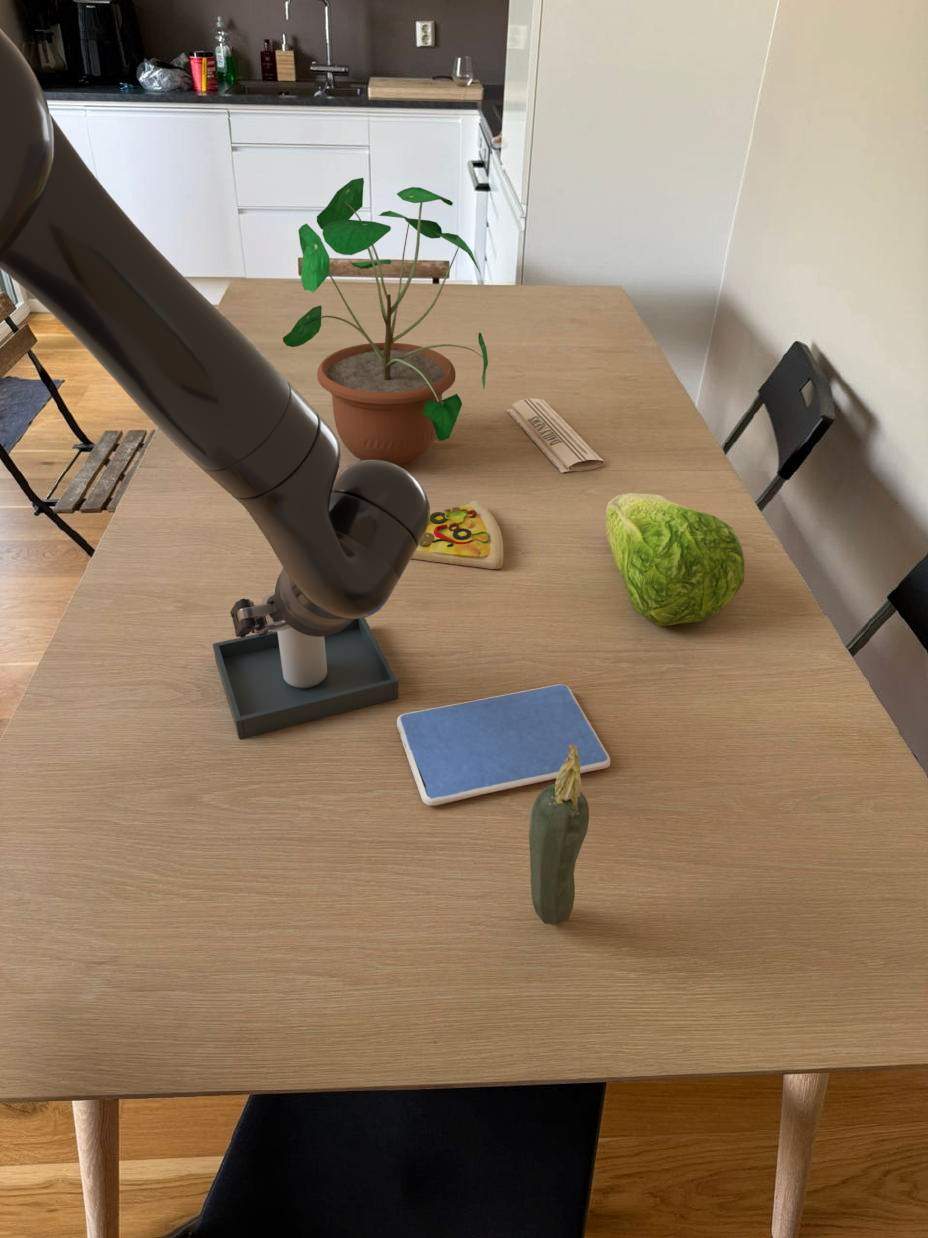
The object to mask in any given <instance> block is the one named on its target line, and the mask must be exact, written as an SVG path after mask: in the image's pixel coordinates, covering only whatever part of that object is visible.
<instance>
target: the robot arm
mask: <svg viewBox="0 0 928 1238" xmlns="http://www.w3.org/2000/svg"><path fill="white" fill-rule="evenodd" d="M0 270H1V271H2V272H3V273H5V274H6V275H7V276H9V277H10V278H11V279H12V280H13V281H14V282H16V283H18V285H19V286H21V287H22V289H24V290H25V291H26V292H27V293H28V294H30V295H31V296H32V297H33V298H34V299H35V300H37V302H38V303H40V304H41V305H42V306H43V307H44V308H45V309H46V310H47V311H49V313H51V315H53V317H54V318H56V319H57V320H58V321H59V323H61V324H62V325H63V326H64V327H65V328H66V329H67V330H68V331H69V332H70V333H71V334H72V335H73V336H74V337H75V338H76V339H77V340H78V342H79V343H80V344H82V346H84V347H85V349H86V350H87V351H88V352H89V353H90V354H91V356H93V357H94V358H95V360H96V361H97V362H98V363H99V364H100V366H102V367H103V369H104V370H106V372H108V374H109V375H110V377H112V378H113V379H114V381H115V382H116V383H117V384H118V385H119V386H120V388H121V389H122V390H123V391H124V392H125V393H126V394H127V395H128V397H129V398H130V399H131V400H132V401H133V402H134V403H135V404H136V406H138V407H139V408H140V410H141V411H143V412H142V413H144V414H145V415H146V416H147V418H149V419H150V420H151V422H153V423H154V425H155V426H156V427H157V428H158V429H160V431H161V432H162V433H163V434H164V435H165V436H166V437H167V438H168V439H169V440H170V441H171V442H172V443H173V444H174V445H175V446H176V447H177V448H178V449H179V451H181V452H182V453H183V454H184V455H185V456H186V457H188V459H190V461H192V462H193V463H194V464H195V465H196V466H198V467H199V468H200V470H202V471H203V472H204V473H206V474H207V476H209V477H210V478H211V479H213V480H214V481H215V482H216V483H217V484H218V485H219V486H220V487H221V488H222V489H224V491H226V492H227V493H228V494H230V495H231V496H232V497H233V498H234V499H235V500H236V501H237V502H238V503H239V504H241V505H242V507H244V509H245V510H246V512H248V514H249V515H250V516H251V517H250V518H252V519H253V521H254V523H255V524H256V526H257V527H258V529H259V530H260V531H261V533H262V535H263V536H264V537H265V539H266V540H267V542H268V544H269V546H270V547H271V549H272V550H273V552H274V554H275V555H276V558H277V559H278V561H279V562H280V565H281V566H282V569H281V571H280V573H279V575H278V577H277V580H276V582H275V584H276V587H275V593H273V592H272V593H270V594H267V595H265V596H263V598H262V601H261V603H259V604H256V605H255V602H254V600H250V598H240V599H239V600H237V601H236V602H235V603H234V605H233V607H232V608H231V610H230V611H229V613H230V617H231V620H232V624H233V627H234V634H235V637H236V638H241V637H245V636H249V635H250V634H254V635H255V634H258V635H259V636H263V635H266V634H267V632H268V631H271V632H276V631H283V630H286V629H289V628H293V629H295V630H296V631H298V632H300V633H302V634H305V635H309V636H314V637H323V636H329V635H333V634H335V633H337V632H339V631H341V630H343V629H344V628H345V627H347V626H348V625H349V624H350V623H351V622H352V621H354V620H355V619H360V618H365V619H366V618H368V617H371V616H373V615H375V614H376V613H378V612H380V611H381V609H382V608H383V607H384V605H385V604H386V603H387V602H388V600H389V598H390V597H391V595H392V593H393V592H394V590H395V589H396V588H397V587H396V586H397V584H398V583H399V581H400V579H401V577H402V575H403V574H404V572H405V570H406V569H407V566H408V565H409V563H410V562H411V560H412V559H411V558H412V556H413V554H414V553H415V551H416V549H417V547H418V546H419V544H420V542H421V540H422V538H423V537H424V535H425V533H426V530H427V528H428V525H429V521H430V513H431V506H430V502H429V498H428V496H427V493H426V491H425V489H424V487H423V486H422V485H421V483H420V482H419V481H418V479H417V478H416V477H415V476H413V474H411V473H410V472H409V471H408V470H407V469H405V468H404V467H400V466H398V465H396V464H393V463H390V462H387V461H382V460H363V461H361V460H359V461H356V462H354V463H353V462H352V463H351V464H349V465H347V466H346V467H344V468H343V469H342V470H341V471H339V469H340V463H341V454H342V453H341V446H340V442H339V439H338V437H337V436H336V433H335V432H334V431H333V429H332V428H331V426H329V424H328V423H327V422H326V420H325V419H324V418H323V417H322V416H321V415H320V414H319V413H318V412H317V411H316V410H315V409H314V408H313V406H312V405H311V404H310V403H309V402H308V401H307V400H306V399H305V398H304V397H303V395H302V394H301V393H300V392H299V391H298V390H297V389H296V388H295V387H294V386H293V385H292V384H291V383H290V381H289V380H288V379H287V378H286V377H285V376H284V375H283V374H282V373H281V372H280V371H279V369H278V368H277V367H276V366H274V364H273V363H272V362H271V361H270V360H269V359H268V358H267V357H266V356H265V355H264V354H263V353H262V352H261V351H260V350H259V349H258V348H257V347H256V346H255V345H254V344H253V343H252V342H251V341H250V340H249V339H248V338H247V337H246V336H245V335H244V334H243V333H242V332H241V331H240V330H239V329H238V328H237V327H236V326H235V325H234V324H233V323H232V322H231V321H230V320H229V319H228V318H226V316H224V315H223V314H222V313H221V312H220V311H219V309H217V308H216V307H215V306H214V305H213V303H211V302H210V301H209V300H208V298H206V297H205V296H204V295H203V294H202V293H201V292H200V291H199V290H198V289H197V287H195V286H194V285H193V284H192V283H191V282H190V281H189V280H188V279H187V278H186V277H185V276H184V275H183V274H182V273H181V272H180V271H179V270H178V269H177V268H176V267H175V266H174V265H173V264H172V263H171V262H170V261H169V260H168V258H166V257H165V256H164V255H163V254H162V253H161V252H160V250H159V249H158V248H157V247H156V246H155V245H154V244H153V243H152V242H151V241H150V240H149V238H148V237H147V236H146V235H145V234H144V233H143V232H142V231H141V230H140V228H139V227H138V226H137V225H136V224H135V223H134V221H132V220H131V218H130V217H129V216H128V214H126V212H125V211H124V210H123V208H121V207H120V205H119V204H118V203H117V201H116V200H114V198H113V197H112V196H111V194H109V192H108V191H107V189H106V188H105V187H104V186H103V185H102V184H101V182H100V181H99V180H98V178H97V177H96V176H95V174H94V173H93V172H92V171H91V170H90V168H89V167H88V165H87V164H86V163H85V162H84V159H82V157H81V155H80V154H79V153H78V152H77V150H76V149H75V148H74V146H73V145H72V143H71V142H70V140H69V139H68V137H67V136H66V134H65V133H64V132H63V130H62V128H61V127H60V125H59V124H58V123H57V121H56V120H55V118H54V117H53V115H52V114H51V112H50V109H49V104H48V100H47V98H46V95H45V93H44V90H43V88H42V86H41V84H40V82H39V80H38V78H37V76H36V73H35V72H34V70H33V69H32V67H31V66H30V64H29V62H28V61H27V59H26V58H25V56H24V55H23V54H22V52H21V51H20V49H19V47H18V46H17V45H16V44H15V43H14V42H13V41H12V39H11V38H10V37H9V36H8V35H7V34H6V33H5V32H4V30H3V28H1V27H0ZM338 472H339V473H338ZM283 620H284V621H285V622H283Z"/></svg>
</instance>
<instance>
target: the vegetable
mask: <svg viewBox="0 0 928 1238" xmlns="http://www.w3.org/2000/svg"><path fill="white" fill-rule="evenodd" d="M568 747H570V750H569V753H568V755H569V757H568V758H567V759H566V760H565V761H564V762H563V763H562V766H561V768H560V771H559V772H558V774H557V777H556V779H555V783H552V784H549V785H547V786H546V787H544V788H543V789H541V792H539V794H538V795H537V796H536V798H535V800H534V802H533V804H532V808H531V811H530V818H529V828H528V842H529V843H528V844H529V859H530V860H529V861H530V862H529V863H530V864H529V868H530V878H529V879H530V881H529V882H530V895H531V901H532V905H533V909H534V912H535V914H536V915H537V917H538V918H539V919H540V920H541V921H542V923H543V924H545V925H553V926H558V925H562V924H563V923H565V922H568V921H569V920H570V917H571V914H572V911H573V909H574V903H575V895H576V887H575V870H576V863H577V859H578V857H579V854H580V851H581V850H582V849H581V848H582V846H583V843H584V840H585V838H586V835H587V832H588V828H589V823H590V808H589V807H590V806H589V803H588V800H587V798H586V797H585V795H584V793H583V792H582V779H581V773H580V762H579V761H580V758H579V756H578V751H577V747H576V746H575V745H572V744H570V745H569V746H568Z"/></svg>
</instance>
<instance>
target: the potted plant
mask: <svg viewBox="0 0 928 1238" xmlns="http://www.w3.org/2000/svg"><path fill="white" fill-rule="evenodd" d="M364 184H365V180H364V177H359V178H354V179H352V180H350V181H349V182H347V183H346V184H344V185H343V186H342V187H341V188H339V189H338V190H337V191H336V193H334V195H333V197H332V198H331V200H329V201H330V202H329V203H328V204H327V206H325V208H324V209H322V210H321V212H320V213H319V214H317V215H316V223H317V225H318V227H319V228H320V229H321V230H322V237H323V239H324V242H323V241H322V238H321V236H320V235H319V234H318V233H317V232H316V231H315V230H314V229H313V228H312V227H311V226H310V225H309V224H308V223H304V224H303V225H301V226H300V227H299V228H298V238H299V245H300V249H301V254H302V261H301V272H300V273H301V275H300V282H301V284H302V287H303V288H302V289H303V290H304V291H310V292H312V293H314V292H316V291H317V290H318V289H319V287H321V285H322V284H323V283H324V281H325V280H326V279H327V278H328V277H329V278H330V280H331V281H332V283H333V284H334V286H335V288H336V290H337V292H338V293H339V295H340V298H341V299H342V301H343V303H344V305H345V307H346V309H347V310H348V312H349V314H350V315H351V317H352V319H353V321H354V322H355V323H356V324H354V323H352V322H351V321H349V320H347V319H344V318H342V317H339V316H335V315H322V311H323V310H322V305H321V304H320V305H317V306H314V307H312V308H311V309H310V310H308V311H307V312H306V313H305V314H304V315H302V316H301V317H300V318H299V319H298V320H297V322H296V323H295V324H294V326H293V328H292V329H291V331H289V332H288V333H287V334H286V335H284V336H283V337H282V342H283V344H284V345H285V346H286V347H290V348H297V347H300V346H303V345H305V344H306V343H308V342H309V341H310V340H312V339H313V338H315V337H316V335H317V334H318V333H319V332H320V330H321V327H322V319H323V318H330V319H335V320H339V321H342V322H344V323H346V324H348V325H349V326H351V327H352V328H354V329H356V330H357V332H359V333H360V334H361V335H362V336H363V337H364V338H365V339H366V341H367V342H368V343H362V344H356V345H352V346H349V347H345V348H341V349H339V350H336V351H334V352H333V353H331V354H329V355H327V356H326V357H325V358H324V359H323V360H322V361H321V362H320V364H319V366H318V368H317V372H316V377H317V381H318V383H319V385H320V386H321V387H322V388H323V390H325V391H327V392H328V393H330V394H331V399H332V400H331V401H332V412H333V419H334V424H335V428H336V431H337V434H338V436H339V438H340V440H341V442H342V444H343V445H344V447H345V448H346V449H347V450H348V452H350V453H351V454H352V455H353V456H354V457H356V458H357V459H358V460H359V461H363V460H382V461H387V462H390V463H393V464H396V465H398V466H400V467H402V468H405V467H408V466H410V465H413V464H414V463H417V461H418V460H419V459H420V458H421V457H423V456H424V455H425V454H426V453H427V452H428V451H429V450H430V448H431V447H432V445H433V444H434V442H435V441H436V438H437V441H438V442H440V441H441V442H442V441H446V440H448V439H450V437H451V435H452V431H453V430H454V428H455V425H456V423H457V419H458V416H459V414H460V412H461V409H462V406H463V402H462V400H461V398H460V396H459V395H458V393H455V394H453V395H450V396H448V397H446V398H443V394H444V393H445V392H446V391H447V390H449V389H450V388H451V387H452V386H453V385H454V383H455V381H456V376H457V375H456V368H455V366H454V364H453V363H452V361H451V360H450V359H448V357H446V356H445V355H443V354H441V353H439V352H438V351H435V350H434V349H433V348H440V347H454V348H455V347H456V348H462V349H466V350H470V351H472V352H474V353H475V354H477V355H478V356H480V357H481V358H482V360H483V361H482V362H483V369H482V376H481V382H482V389H483V390H484V389H485V388H486V376H487V375H486V374H487V368H488V366H489V358H488V352H487V351H488V350H487V346H486V343H485V340H484V338H483V334H482V332H478V337H477V338H478V344H479V347H480V349H481V354H482V355H481V354H480V353H478V352H477V351H475V350H474V349H472V348H470V347H466V346H463V345H458V344H451V343H442V344H433V345H428V346H427V345H426V346H421V345H417V344H410V343H402V342H396V341H398V340H399V339H401V338H403V337H404V336H406V335H407V334H408V333H409V332H411V331H412V330H413V329H414V328H415V327H417V326H418V325H419V324H420V323H421V322H422V321H423V320H424V319H425V318H426V317H427V315H428V314H430V312H431V310H432V309H433V308H434V306H435V305H436V303H437V301H438V299H439V297H440V295H441V293H442V291H443V288H444V285H445V283H446V280H447V278H448V275H449V273H450V271H451V269H452V266H453V264H454V261H455V259H456V256H457V254H458V251H459V248H460V249H461V250H463V251H464V252H466V253H467V254H468V256H469V257H470V259H471V261H472V262H473V264H474V265H475V267H476V269H477V271H478V272H479V274H480V275H482V274H481V271H480V269H479V266H478V263H477V262H476V259H475V256H474V253H473V251H472V250H471V248H470V246H469V245H468V244H467V243H466V242H465V240H463V238H462V237H460V235H459V234H456V233H450V232H443V230H442V227H441V225H440V224H439V223H438V222H437V221H434V220H429V219H422V210H423V203H429V202H434V201H438V200H440V201H442V202H443V203H445V204H446V205H447V206H451V207H453V204H454V202H453V201H451V200H450V199H448V198H445V197H443V196H441V195H438V194H437V193H434V192H432V191H429V190H427V189H425V188H423V187H420V186H419V187H416V186H412V187H408V188H404V189H402V190H400V191H398V192H397V193H396V195H397V196H398V197H399V198H400V199H401V200H402V201H404V202H408V203H412V204H419V207H418V208H419V209H418V218H411V217H407V216H405V215H403V214H401V213H398V212H395V211H392V210H387V211H383V212H382V213H380V214H379V215H377V216H379V217H390V218H400V219H404V220H405V222H407V223H408V224H407V227H406V234H405V238H404V245H403V250H402V257H401V258H402V259H401V264H400V265H401V266H400V275H399V284H398V289H397V295H396V300H395V302H394V303H393V304H392V301H391V300H392V299H391V298H392V297H391V294H390V293H389V294H388V293H387V289H386V286H385V281H384V277H383V276H384V275H383V269H382V265H391V264H392V260H391V259H382V260H380V259H379V256H378V252H377V250H376V246H375V245H374V244H376V243H377V242H379V241H380V239H382V238H384V237H385V235H387V234H388V233H390V231H391V229H392V227H391V226H390V225H389V224H385V223H380V222H377V221H369V220H362V219H361V217H360V216H359V214H358V213H357V212H358V211H359V210H360V209H362V207H363V205H364V204H363V201H364V187H365V186H364ZM354 215H355V216H356V217H357V219H351V218H352V217H353V216H354ZM410 226H411V227H412V228H413V229H414V230H416V231H417V232H416V242H415V243H416V244H415V252H414V257H413V258H414V259H413V262H412V266H411V269H410V273H409V276H408V277H407V280H406V282H405V285H404V286H403V289H402V280H403V270H404V261H405V254H406V246H407V241H408V239H407V238H408V235H409V229H410ZM421 235H423V236H424V237H426V238H429V239H441V238H442V239H444V240H446V241H447V242H449V243H451V244H453V245H454V246H456V247H457V249H456V251H455V253H454V256H453V258H452V260H451V263H450V265H449V267H448V269H447V271H446V274H445V276H444V279H443V281H442V283H441V286H440V288H439V290H438V292H437V294H436V296H435V298H434V300H433V302H432V303H431V305H430V306H429V307H428V308H427V310H426V311H425V312H424V313H423V315H421V316H420V318H418V319H417V320H416V321H415V322H414V323H412V324H411V325H410V326H409V327H407V328H406V329H405V330H403V331H402V332H400V333H399V334H397V335H396V336H394V335H395V328H396V321H397V316H398V315H397V314H398V307H399V305H400V303H402V300H403V298H404V297H405V295H406V293H407V291H408V289H409V287H410V285H411V282H412V280H413V277H414V274H415V271H416V267H417V263H418V259H419V252H420V251H419V250H420V244H421V243H420V242H421V241H420V240H421ZM324 243H326V244H327V245H328V246H329V247H330V248H331V250H333V251H334V252H335V253H336V254H339V255H342V256H353V255H355V254H358V253H361V252H362V251H366V250H367V252H368V255H369V258H370V261H369V260H367V261H361V262H351V263H350V264H351V265H352V266H353V267H356V268H359V269H364V270H365V269H371V268H372V269H373V273H374V278H375V282H376V288H377V294H378V299H379V306H380V312H381V315H382V319H383V322H384V325H385V338H384V342H373V341H372V339H371V337H370V336H369V335H368V333H367V332H366V331H365V329H364V328H363V327H362V326H361V324H360V322H359V320H358V319H357V317H356V316H355V314H354V312H353V311H352V310H351V308H350V306H349V304H348V303H347V301H346V299H345V297H344V295H343V294H342V291H341V289H339V288H340V287H339V286H338V285H337V283H336V281H335V280H334V278H333V277H332V275H331V273H330V269H331V261H330V255H329V253H328V251H327V249H326V247H325V245H324ZM371 248H372V250H373V253H374V256H375V259H376V260H374V258H373V253H372V251H371ZM381 264H382V265H381ZM376 266H377V267H378V271H377V269H376ZM378 272H379V275H378ZM379 276H380V280H379ZM380 283H381V285H380ZM381 286H382V289H383V293H384V296H385V298H386V305H387V306H386V307H385V305H384V301H383V295H382V291H381ZM401 289H402V290H401ZM385 308H386V309H385ZM392 315H393V317H392Z"/></svg>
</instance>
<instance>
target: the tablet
mask: <svg viewBox="0 0 928 1238" xmlns="http://www.w3.org/2000/svg"><path fill="white" fill-rule="evenodd" d="M396 726H397V730H398V733H399V734H400V740H401V743H402V746H403V748H404V751H405V754H406V757H407V760H408V764H409V767H410V769H411V772H412V776H413V778H414V781H415V783H416V786H417V789H418V793H419V794H420V798H421V800H422V802H423V804H425V806H428V807H437V806H440V805H444V804H448V803H452V802H457V801H461V800H465V799H469V798H473V797H477V796H482V795H486V794H492V793H496V792H500V791H504V790H511V789H514V788H517V787H524V786H528V785H532V784H533V785H534V784H538V783H541V782H542V783H543V782H547V781H550V780H556V777H557V774H558V772H559V771H560V768H561V766H562V763H563V762H564V761H565V760H566V759H567V758H568V757H569V755H568V753H569V750H570V747H568V746H569V745H570V744H572V745H575V746H576V747H577V751H578V756H579V758H580V761H579V762H580V774H585V773H587V772H589V773H590V772H593V771H598V770H604V769H607V768H609V767H610V766H611V757H610V755H609V753H608V751H607V750H606V749H605V747H604V745H603V743H602V742H601V740H600V738H599V736H598V735H597V733H596V731H595V730H594V728H593V726H592V724H591V722H590V721H589V719H588V718H587V716H586V714H585V713H584V711H583V709H582V707H581V705H580V703H579V702H578V700H577V698H576V696H575V695H574V693H573V692H572V689H571V688H570V687H569V686H568V685H566V684H564V683H558V684H552V685H547V686H542V687H537V688H532V689H528V690H522V691H517V692H511V693H506V694H501V695H496V696H490V697H484V698H480V699H475V700H470V701H464V702H459V703H453V704H447V705H444V706H443V705H442V706H438V707H437V706H436V707H433V708H428V709H422V710H417V711H416V710H415V711H410V712H406V713H402V714H400V715H399V716H398V717H397V720H396Z"/></svg>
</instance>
